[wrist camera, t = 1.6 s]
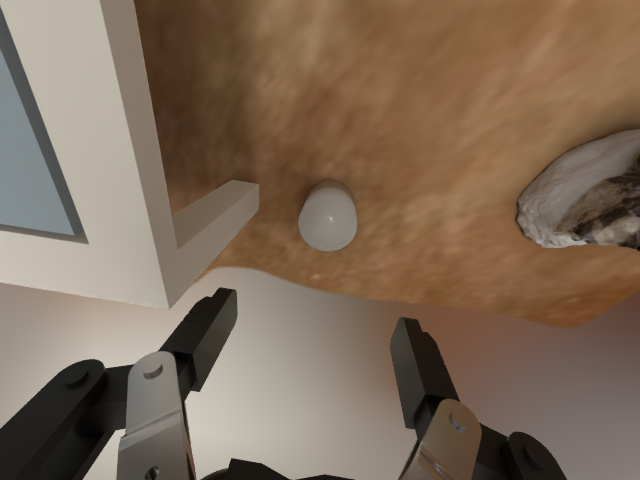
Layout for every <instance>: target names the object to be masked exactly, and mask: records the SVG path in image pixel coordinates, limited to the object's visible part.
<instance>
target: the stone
mask: <svg viewBox="0 0 640 480" xmlns="http://www.w3.org/2000/svg"><path fill="white" fill-rule="evenodd" d="M518 203H519V214H518V217H517V219H516V220H517V222H518V223H519V224H520V226H521V227H522V229H523V230H524V235H525V236H528V237H530V238H531V239H532V240H533V241H534V242H536V243H538V244H540V245H541V247H547V248H550V247H551V248H561V247H567V246H570V245H584V244H588V243H593V244H598V245H615V246H620V247H629V248H632V249H636V250H637V251H640V129H634V130H625V131H622V132H618V133H615V134H612V135H609V136H607V137H605V138H603V139H599V140H595V141H592V142H589V143H585V144H582V145H580V146H578V147H576V148H573V149H572V150H570V151H568V152H566V153H564V154H563V155H561V156H560V157H559V158H557V159H556V160H555V161H553V163H551V164H550V165H549V166H548V167H547V169H546V170H545V171H544V172H542V173H541V174H540V175H539V176H538V177H537V178H536V179H535V180H534V181H533V182H532V183H531V184H530V185H529V187H528V188H527V189H526V190H525V191H524V192H523V194H522V195H521V196H520V198H518Z"/></svg>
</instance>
